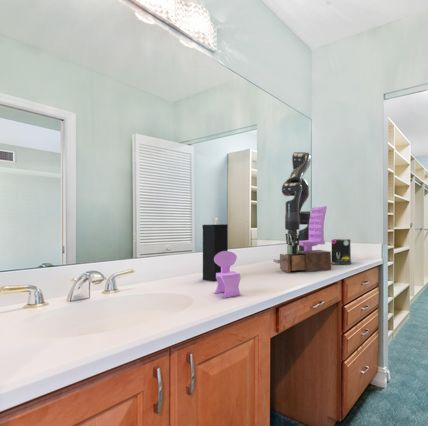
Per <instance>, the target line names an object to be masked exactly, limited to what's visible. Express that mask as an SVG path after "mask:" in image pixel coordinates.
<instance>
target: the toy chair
mask: <svg viewBox="0 0 428 426" xmlns="http://www.w3.org/2000/svg"><path fill="white" fill-rule="evenodd" d="M237 259H238V257H237V255H236V253H235V252H233V251H230V250H228V251H222V252H219V253H218V254H216V255H215V257H214V262H215V263H216V264H217V265H218V266H220V267H221V273H216V279H217V281H216V283H217V284H216V285H217V286H216V289H215V291H214V294H220V293H221V294H222V293H223V295H222V297H221V298H222V299H224V298H231V297H237V296H241V292H240V286H239V285H240V281H241V273H239V272H236V271H234V270H231V267H232V266H234V265H235V263H236V261H237Z"/></svg>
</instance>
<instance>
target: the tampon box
mask: <svg viewBox="0 0 428 426" xmlns="http://www.w3.org/2000/svg"><path fill="white" fill-rule="evenodd" d="M330 242H331V265H346V266H347V265H348V266H350V264H351V263H352V255H351V250H352V249H351V239H350V238H348V239H346V238H345V239H343V238H334V239H331V241H330Z"/></svg>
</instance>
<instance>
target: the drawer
mask: <svg viewBox="0 0 428 426" xmlns="http://www.w3.org/2000/svg"><path fill="white" fill-rule="evenodd" d="M273 263H277V264H279V270H282V271H285V272H287V273H291V271H292V272H293V271H301V270H305V269H306V265H305V254H300V253H298V254H291V255H290V254H287V253H285V254H284V253H280V254H279V259H275V258H274V259H273Z"/></svg>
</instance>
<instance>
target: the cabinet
mask: <svg viewBox="0 0 428 426" xmlns="http://www.w3.org/2000/svg"><path fill="white" fill-rule="evenodd" d="M298 253H300V254H305V265H306V269H305V270H300V271H301V272H304V273H313V272H314V273H315V272H323V271H325V272H326V271H331V270H332V251H329V250H322V249H312V250H308V251H298Z"/></svg>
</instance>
